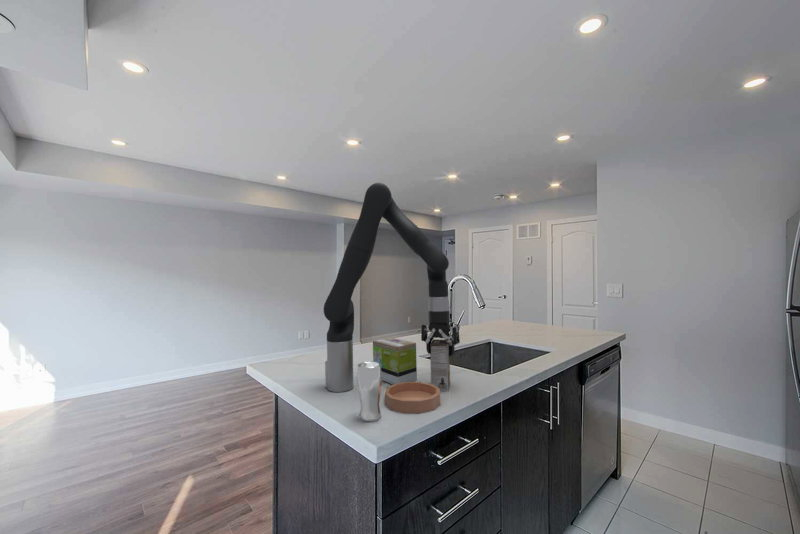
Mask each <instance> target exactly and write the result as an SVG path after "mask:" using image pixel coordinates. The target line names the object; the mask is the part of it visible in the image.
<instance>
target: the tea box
mask: <svg viewBox="0 0 800 534" xmlns="http://www.w3.org/2000/svg"><path fill="white" fill-rule="evenodd" d="M372 359H373V360H372V362H379V363H380V364H381V373H382V382H386V383H388V384H391V385H394V384H397V383H403V382H417V381H418V379H417V375H418V374H417V371H418V369H417V368H418V367H417V365H418V364H417V343H416V342H413V341H409V340H405V339H401V338H395V337H391V336H390V337H387V338H382V339H378V340H373V341H372Z"/></svg>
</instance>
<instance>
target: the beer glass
mask: <svg viewBox="0 0 800 534" xmlns="http://www.w3.org/2000/svg"><path fill="white" fill-rule="evenodd" d="M356 374H357V378H356V382H357V390H358V395H359V396H358V397H359V400H360V411H359V420H361V421H362V422H365V423H374V422H376V421H379V420H380V419H381V418H382V413H381V408H380V407H381V406H380V401H381V399H380V398H381V393H382V386H383V385H382V383H383V380H382V373H381V364H380V363H379V362H373V360H372V361H364V362H360V363H358V364H357V373H356Z"/></svg>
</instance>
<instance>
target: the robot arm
mask: <svg viewBox="0 0 800 534" xmlns="http://www.w3.org/2000/svg"><path fill="white" fill-rule="evenodd" d="M360 210H361V211H360V214H359V217H358V220H357V223H356V224H355V226H354V228H353V230H352V233H351V236H350V238H349V240H348V243H347V246H346V249H345V251H344V254H343V257H342V260H341V261H340V262H341V263H340V266H339V268H338V272H337V275H336V278H335V281H334V283H333V285H332V288H331V290H330V292H329V294H328V296H327V297H326V300H325V302H324V305H323V314H324V317H325V319H327V321H329V327H328V330H327V333H326V359H327V360H325V362H324V363H325V366H324V368H325V369H324V370H325V372H324V373H325V389H327V391H330V392H332V393H333V392H334V393H340V392H341V393H342V392H347V391H350V390H352V389H353V388H354V348H353V347H354V344H353V343H354V342H353V341H354V340H353V339H354V337H353V334H354V329H355V305H354V301H353V300H352V296H353V293H354V291H355V289H356V287H357V286H356V285H357V284H358V283H359V281H360V279H361V278H362V276H363V275H364V273H365V271H366V269H367V267H368V266H369V263H370V260H371V257H372V255H373V252H374V249H375V246H376V241H377V234H378V230H379V226H380V223H381V220H382V218H383V219H384V220H385V221H386V222H388V223H389V225H390V226H391V227H392V228H393V229H394V230H395V232H397V234H398V235H399V237H401V238H402V240H403V241H404V242H405V244H406V245H407V246H408V247H409V248H410V249H411V250H412V251H413V252H414V253H415V254H416V255H417V256H419V257H420V258H421V259H422V260H423V261H424V262H425V264H426V272H427V280H428V301H427V303H428V322H429V324H427V323H424V324H422V325H421V338H420V340H421V341H422V342H424V343H425V344H426V345H425V346H426V352H427V354H429V355H430V344H431V342H432V340H433V339H435V338H436V339H437V338H438V339H443V340H445V341H447V342H448V344H449V345H450V346H449V356H450V358H451V357H453V356H454V355H455V352H456V351H455V349H456V348H455V346H456V345H458V344H460V343H461V342H460V341H461V340H460V329H459V326H458V325H456V326H451V324H450V322H451V313H450V309H451V307H450V300H449V299H450V298H449V297H450V296H449V285H448V281H447V275H446V274H447V270H448V268H449V263H450V262H449V261H450V260H449V259H448V257H447V256H446V254H445V253H443V251H442V250H440V248H438V247H437V246H436V245H435V244H434V243H433V242H432V241H431V240H430V239H429V237H428V236H427V235H426V234H425V232H423V231H422V230H421V229H420V228H419V227H418V225H416V224H415V223H414V222H413V220H411V219H410V218H409V217H407V215H406V214H405V213H403V211H402V210H401V209H400V208H399V206H398V205H397V203H396V201H395V200H394V198H393V196H392V191H391V190H390V187H388V185H386V184H385V183H382V182H375V183H373V184H371V185H370V186H369V187H367V189H366V191H365V194H364V198H363V203H362V207H361V209H360ZM428 331H430V333H429V332H428ZM450 332H451V333H450ZM428 333H429V334H428ZM451 334H452V335H451Z"/></svg>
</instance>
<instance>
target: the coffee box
mask: <svg viewBox="0 0 800 534" xmlns="http://www.w3.org/2000/svg"><path fill="white" fill-rule="evenodd" d="M449 346H450V345H449V344H448V342H447V341H445V339H440V338H438V339H437V338H436V339H435V338H434V339H433V340H432V342H431V344H430V354H429V355H430V358H429V359H430V384H433V385H435V386H436V387H438V388H440V392H449V391H450V388H451V357H450V356H449Z"/></svg>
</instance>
